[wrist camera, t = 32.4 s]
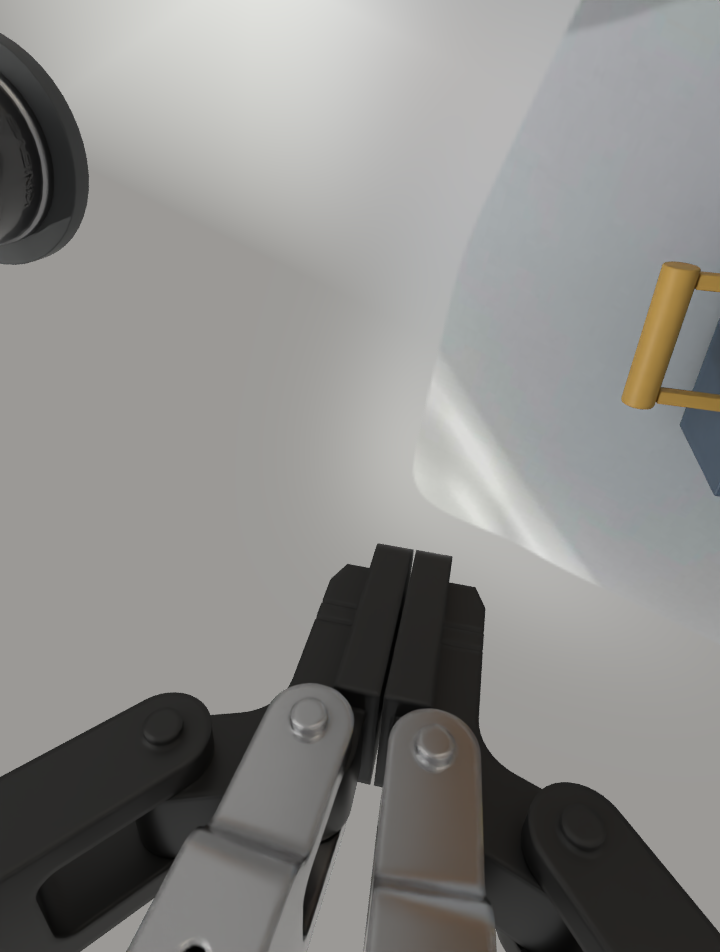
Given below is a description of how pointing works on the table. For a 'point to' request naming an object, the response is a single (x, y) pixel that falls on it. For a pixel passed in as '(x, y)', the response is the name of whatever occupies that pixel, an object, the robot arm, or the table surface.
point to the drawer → (716, 389)
